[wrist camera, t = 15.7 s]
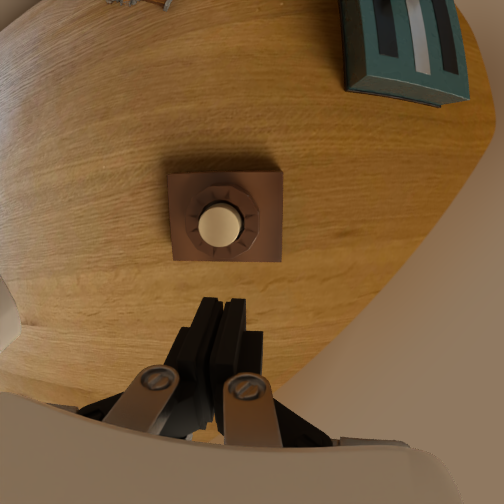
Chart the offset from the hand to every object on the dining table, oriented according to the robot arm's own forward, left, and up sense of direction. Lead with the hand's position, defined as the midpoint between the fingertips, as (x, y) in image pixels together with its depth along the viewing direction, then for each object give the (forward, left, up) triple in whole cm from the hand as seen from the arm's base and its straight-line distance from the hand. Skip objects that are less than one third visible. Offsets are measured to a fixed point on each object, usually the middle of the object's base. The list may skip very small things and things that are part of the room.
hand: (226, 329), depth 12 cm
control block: (+2, -1, -17) cm, 17 cm away
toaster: (-14, -20, -17) cm, 30 cm away
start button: (+2, -1, -14) cm, 14 cm away
